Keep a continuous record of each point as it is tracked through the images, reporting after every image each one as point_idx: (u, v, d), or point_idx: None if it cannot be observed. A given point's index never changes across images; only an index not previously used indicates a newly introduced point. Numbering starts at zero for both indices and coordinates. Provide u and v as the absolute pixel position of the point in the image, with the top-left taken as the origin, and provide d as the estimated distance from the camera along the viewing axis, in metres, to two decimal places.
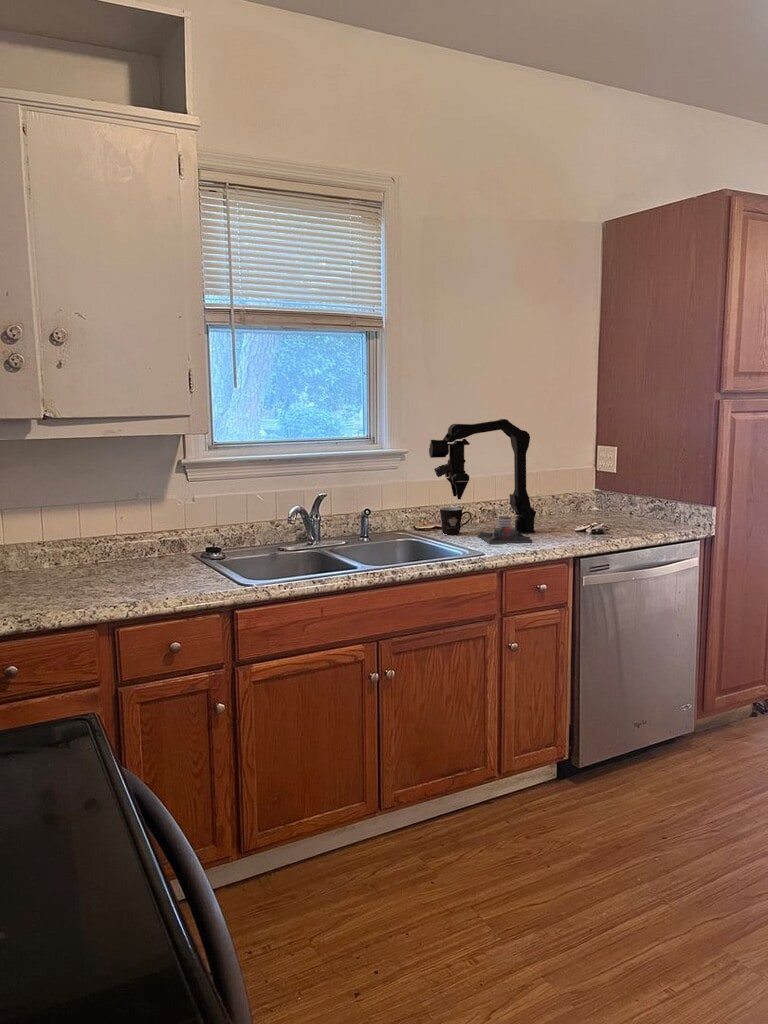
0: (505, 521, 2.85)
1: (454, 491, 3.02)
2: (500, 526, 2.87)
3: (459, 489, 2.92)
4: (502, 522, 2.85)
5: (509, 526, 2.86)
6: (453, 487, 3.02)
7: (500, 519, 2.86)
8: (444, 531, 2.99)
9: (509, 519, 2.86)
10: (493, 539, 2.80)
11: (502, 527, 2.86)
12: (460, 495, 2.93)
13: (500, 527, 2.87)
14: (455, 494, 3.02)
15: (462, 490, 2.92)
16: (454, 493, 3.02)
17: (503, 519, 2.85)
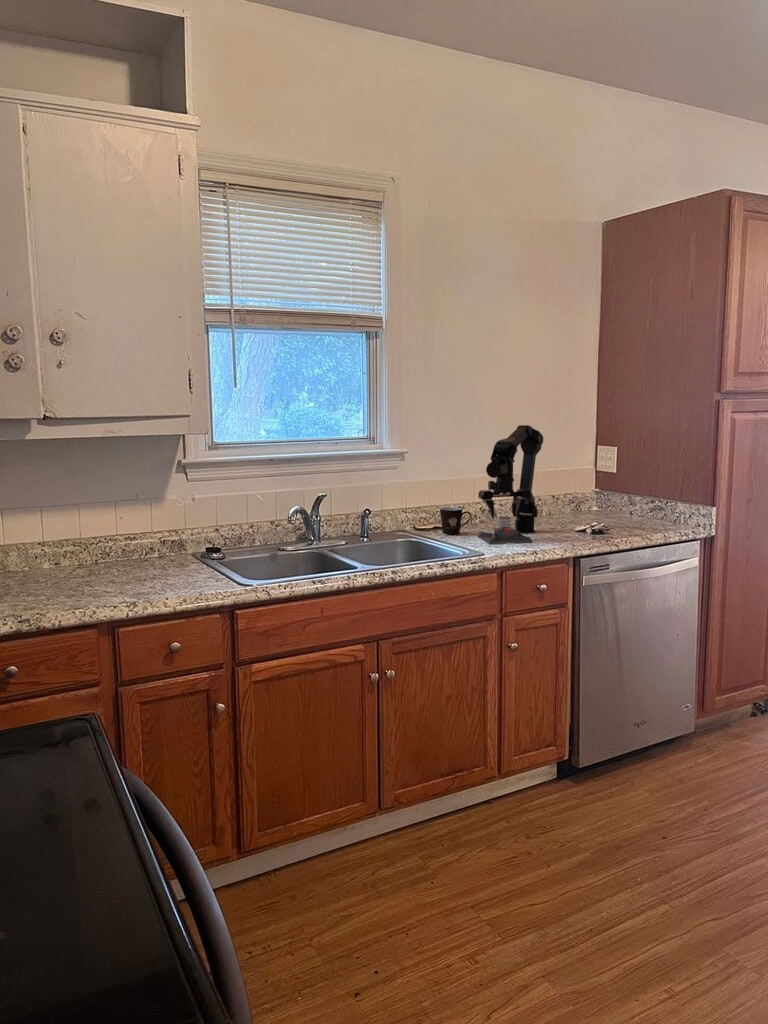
0: (505, 521, 2.85)
1: (516, 511, 2.88)
2: (500, 526, 2.87)
3: (489, 507, 2.86)
4: (502, 522, 2.85)
5: (509, 526, 2.86)
6: (517, 507, 2.88)
7: (500, 519, 2.86)
8: (444, 531, 2.99)
9: (509, 519, 2.86)
10: (493, 539, 2.80)
11: (502, 527, 2.86)
12: (491, 514, 2.86)
13: (500, 527, 2.87)
14: (516, 515, 2.88)
15: (490, 509, 2.85)
16: (516, 514, 2.88)
17: (503, 519, 2.85)
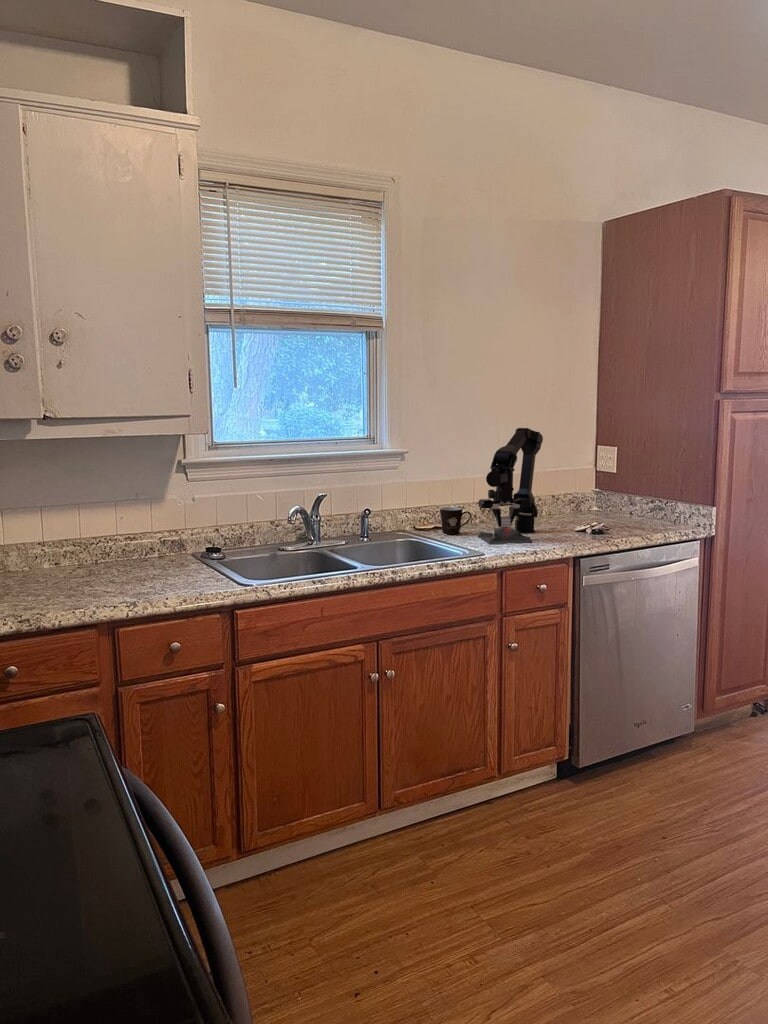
0: (505, 521, 2.85)
1: None
2: (500, 526, 2.87)
3: (496, 516, 2.87)
4: (502, 522, 2.85)
5: (509, 526, 2.86)
6: (510, 517, 2.88)
7: None
8: (444, 531, 2.99)
9: (509, 519, 2.86)
10: (493, 539, 2.80)
11: (502, 527, 2.86)
12: (498, 522, 2.87)
13: (500, 527, 2.87)
14: None
15: (497, 518, 2.86)
16: None
17: (503, 519, 2.85)
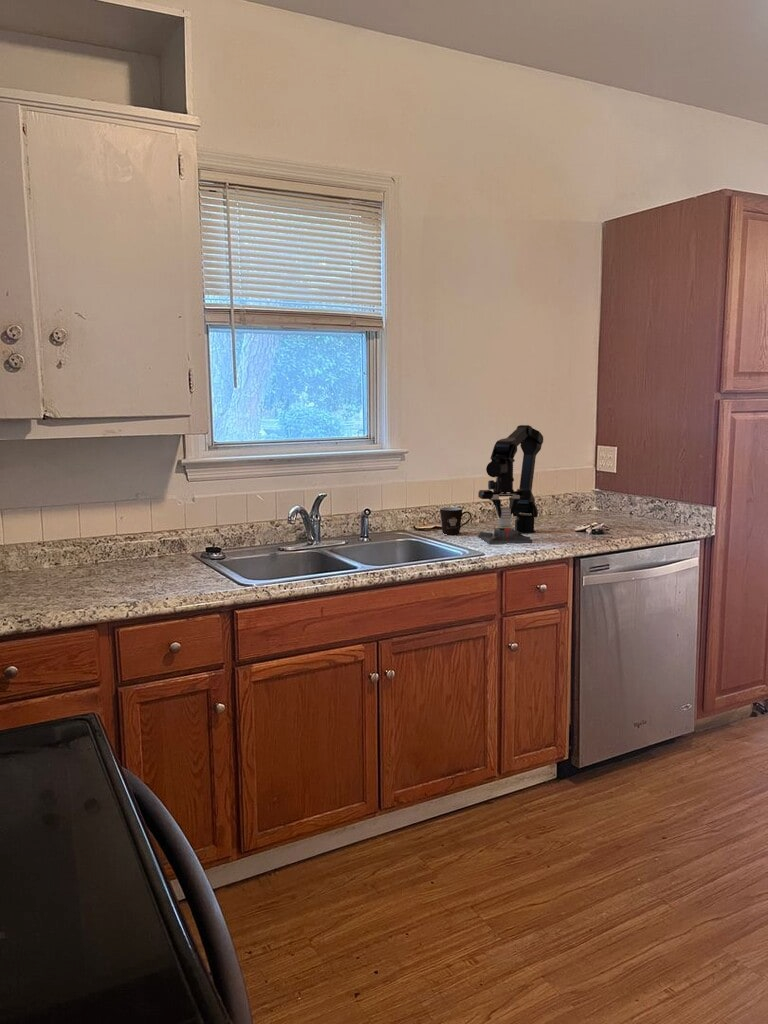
0: (505, 512, 2.85)
1: None
2: (500, 517, 2.86)
3: (496, 507, 2.86)
4: (502, 513, 2.85)
5: (509, 517, 2.85)
6: (510, 507, 2.87)
7: None
8: (444, 531, 2.99)
9: (509, 510, 2.85)
10: (493, 539, 2.80)
11: (502, 518, 2.85)
12: (498, 513, 2.86)
13: (500, 518, 2.86)
14: None
15: (497, 508, 2.85)
16: None
17: (503, 510, 2.85)
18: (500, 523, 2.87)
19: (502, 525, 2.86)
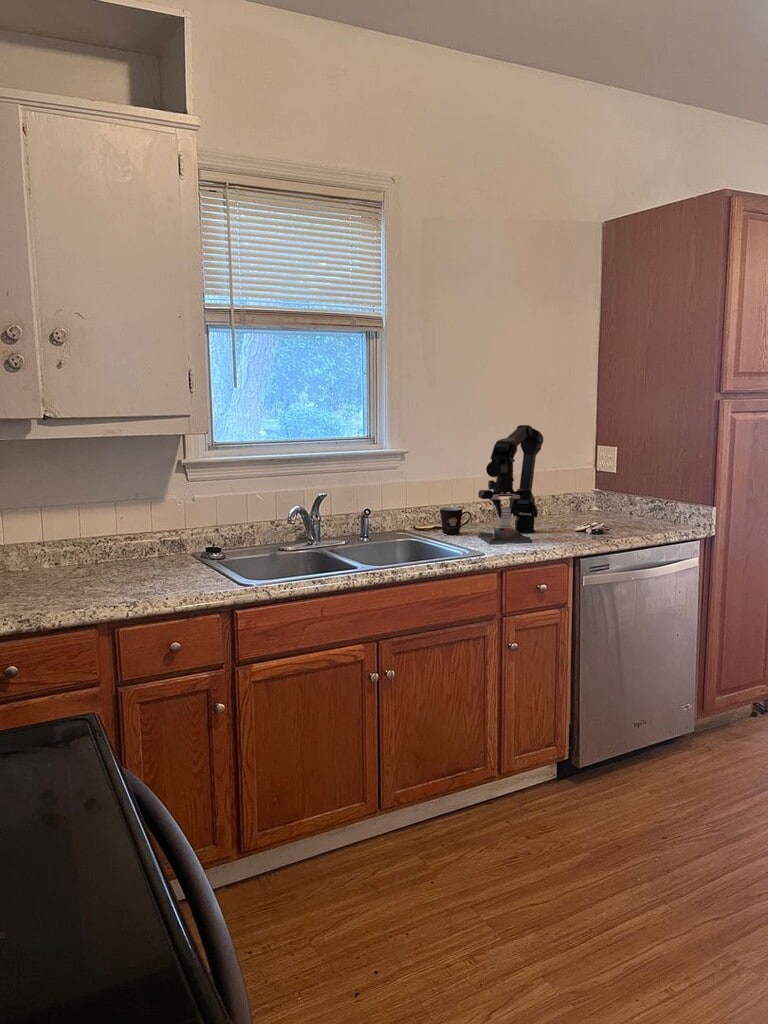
0: (505, 512, 2.85)
1: None
2: (500, 517, 2.86)
3: (496, 507, 2.86)
4: (502, 513, 2.85)
5: (509, 517, 2.85)
6: (510, 507, 2.87)
7: None
8: (444, 531, 2.99)
9: (509, 510, 2.85)
10: (493, 539, 2.80)
11: (502, 518, 2.85)
12: (498, 513, 2.86)
13: (500, 518, 2.86)
14: None
15: (497, 508, 2.85)
16: None
17: (503, 510, 2.85)
18: (500, 523, 2.87)
19: (502, 525, 2.86)
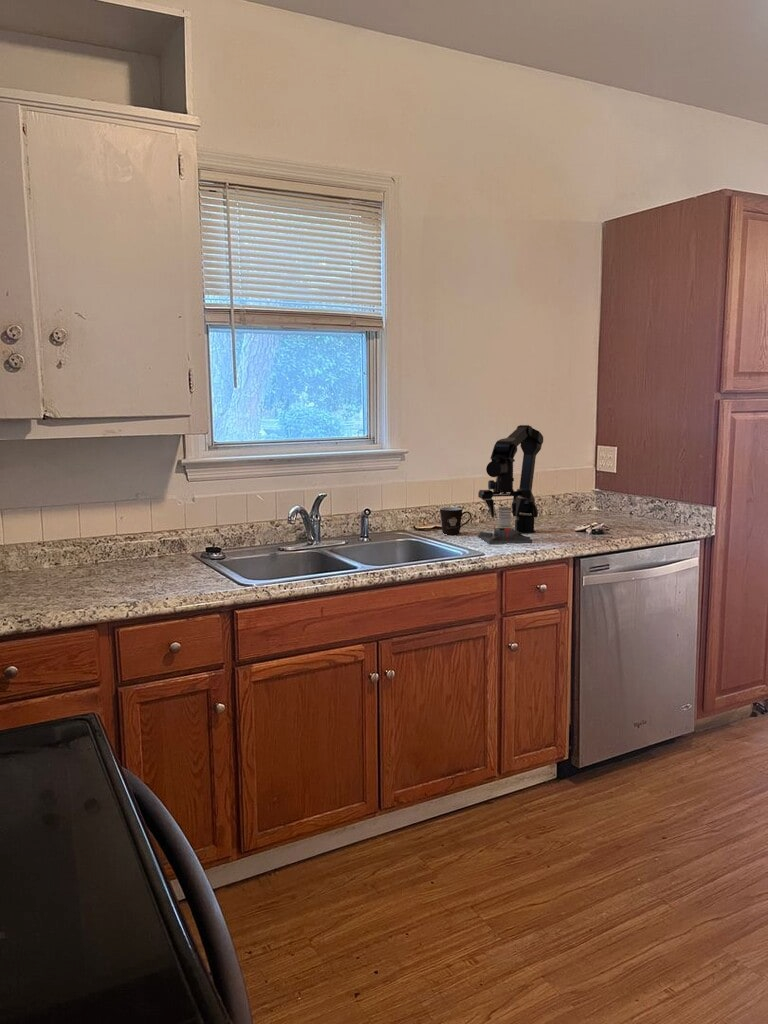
0: (505, 512, 2.85)
1: (516, 511, 2.88)
2: (500, 517, 2.86)
3: (489, 507, 2.86)
4: (502, 513, 2.85)
5: (509, 517, 2.85)
6: (517, 507, 2.88)
7: (500, 510, 2.86)
8: (444, 531, 2.99)
9: (509, 510, 2.85)
10: (493, 539, 2.80)
11: (502, 518, 2.85)
12: (491, 513, 2.86)
13: (500, 518, 2.86)
14: (516, 514, 2.87)
15: (490, 508, 2.85)
16: (516, 513, 2.88)
17: (503, 510, 2.85)
18: (500, 523, 2.87)
19: (502, 525, 2.86)
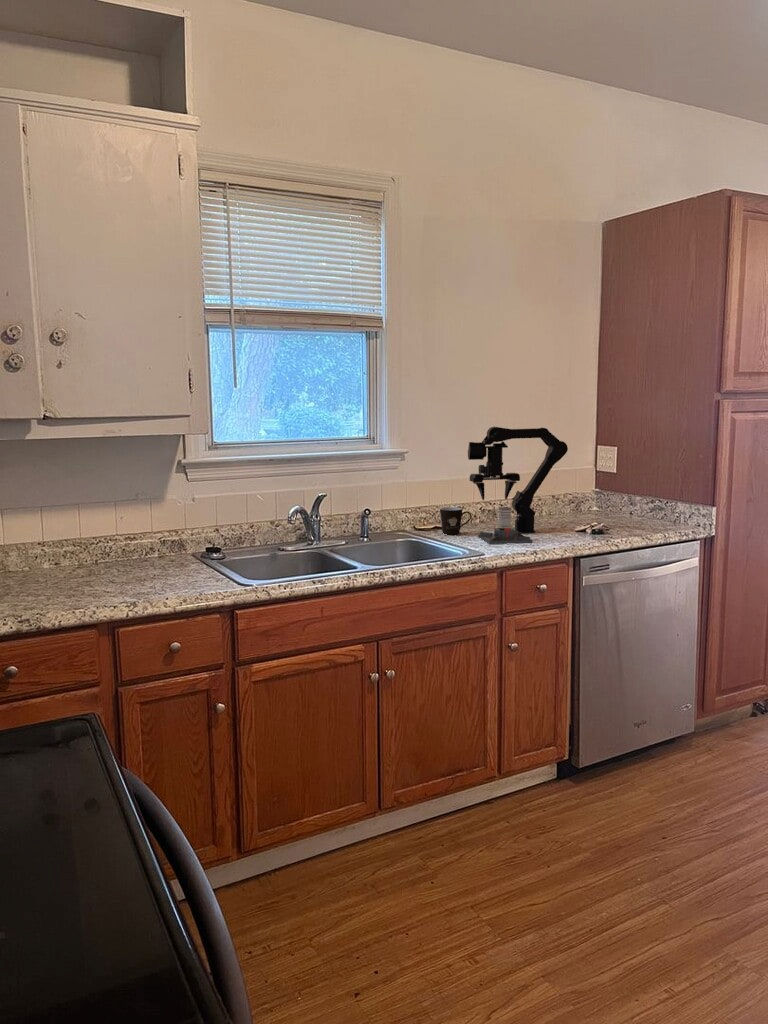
0: (505, 512, 2.85)
1: (505, 494, 3.03)
2: (500, 517, 2.86)
3: (480, 490, 3.01)
4: (502, 513, 2.85)
5: (509, 517, 2.85)
6: (506, 490, 3.03)
7: (500, 510, 2.86)
8: (444, 531, 2.99)
9: (509, 510, 2.85)
10: (493, 539, 2.80)
11: (502, 518, 2.85)
12: (481, 496, 3.01)
13: (500, 518, 2.86)
14: (505, 497, 3.03)
15: (481, 491, 3.00)
16: (505, 496, 3.03)
17: (503, 510, 2.85)
18: (500, 523, 2.87)
19: (502, 525, 2.86)
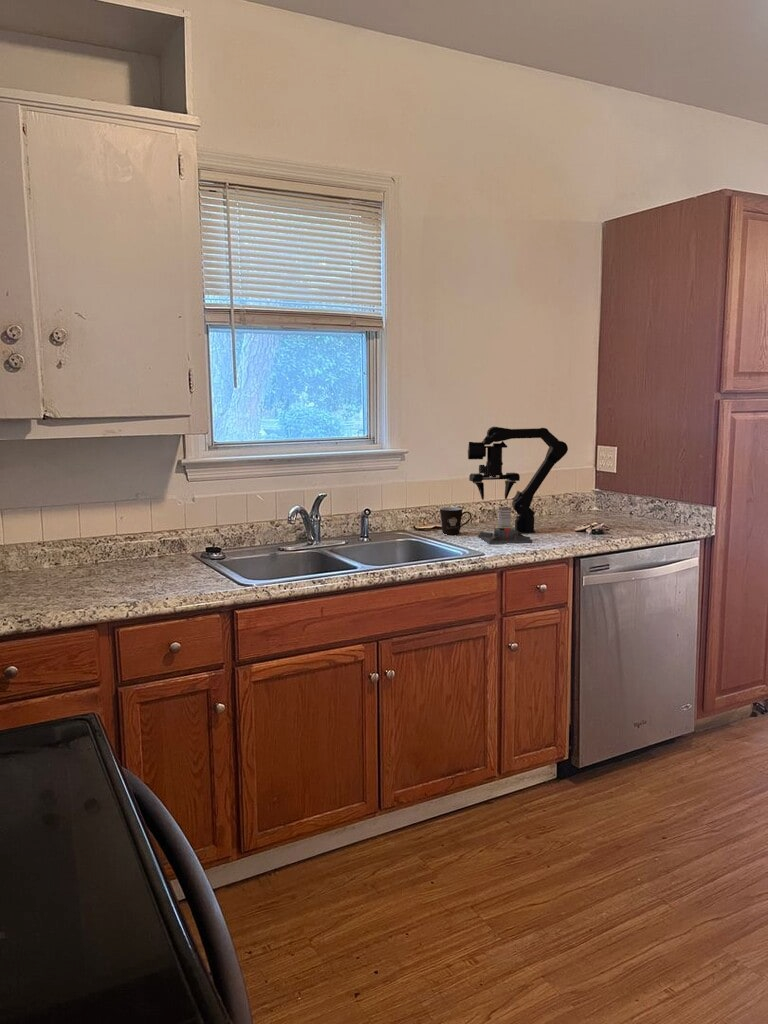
0: (505, 512, 2.85)
1: (505, 494, 3.04)
2: (500, 517, 2.86)
3: (479, 489, 3.02)
4: (502, 513, 2.85)
5: (509, 517, 2.85)
6: (506, 490, 3.04)
7: (500, 510, 2.86)
8: (444, 531, 2.99)
9: (509, 510, 2.85)
10: (493, 539, 2.80)
11: (502, 518, 2.85)
12: (481, 496, 3.02)
13: (500, 518, 2.86)
14: (505, 497, 3.04)
15: (480, 491, 3.01)
16: (505, 496, 3.04)
17: (503, 510, 2.85)
18: (500, 523, 2.87)
19: (502, 525, 2.86)
